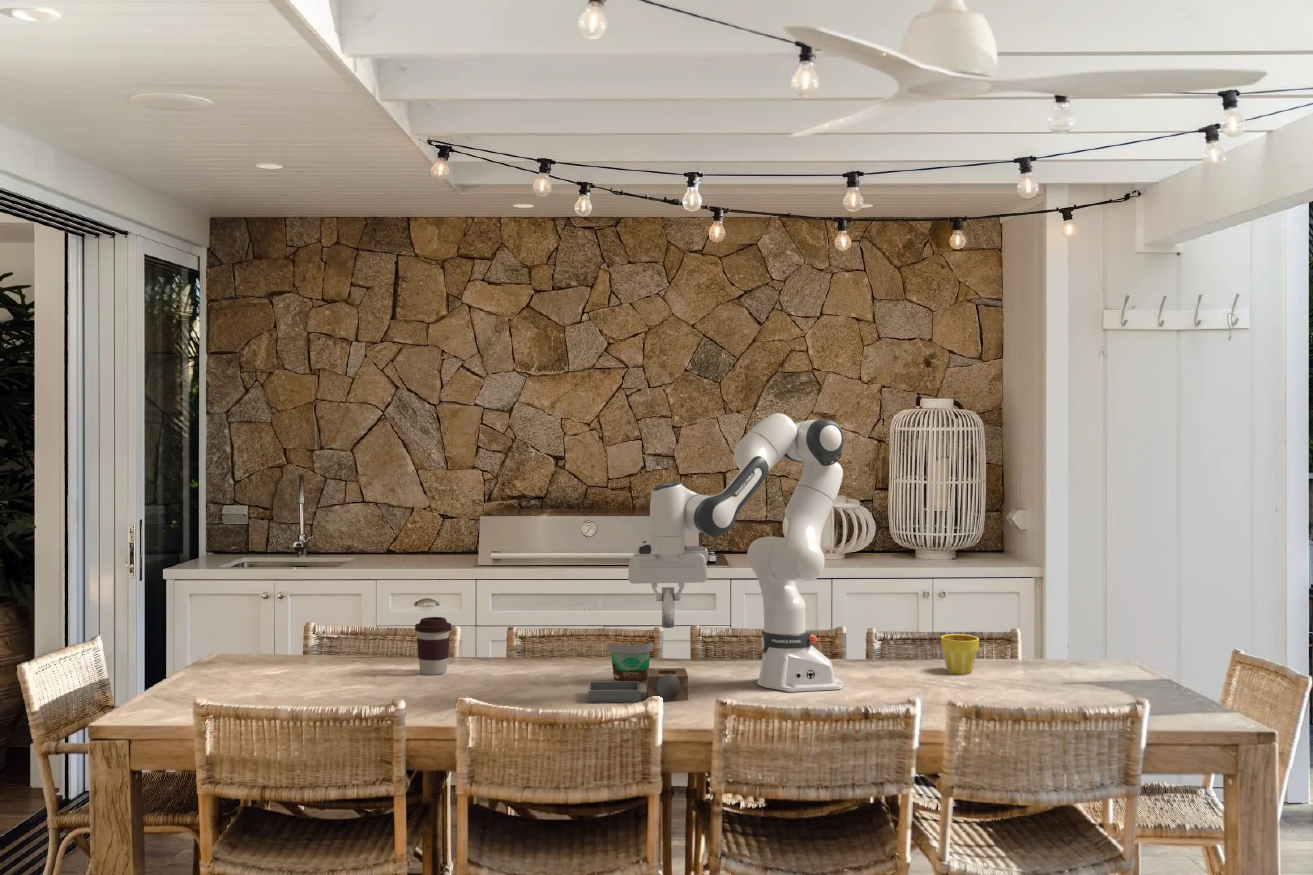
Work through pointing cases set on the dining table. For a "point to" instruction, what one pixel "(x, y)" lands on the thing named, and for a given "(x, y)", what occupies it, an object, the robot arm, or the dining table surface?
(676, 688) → the block
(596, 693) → the tray
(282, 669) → the dining table surface
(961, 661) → the plant pot
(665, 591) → the lock pin
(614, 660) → the food container
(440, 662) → the coffee cup
